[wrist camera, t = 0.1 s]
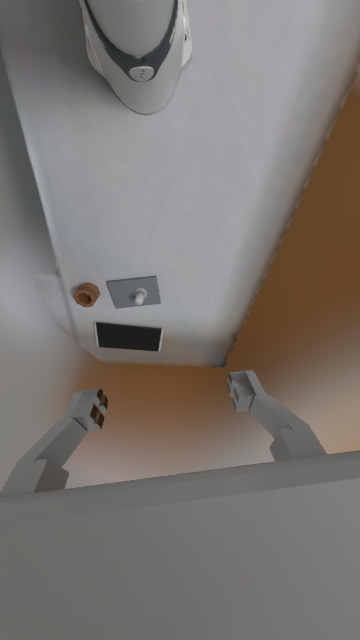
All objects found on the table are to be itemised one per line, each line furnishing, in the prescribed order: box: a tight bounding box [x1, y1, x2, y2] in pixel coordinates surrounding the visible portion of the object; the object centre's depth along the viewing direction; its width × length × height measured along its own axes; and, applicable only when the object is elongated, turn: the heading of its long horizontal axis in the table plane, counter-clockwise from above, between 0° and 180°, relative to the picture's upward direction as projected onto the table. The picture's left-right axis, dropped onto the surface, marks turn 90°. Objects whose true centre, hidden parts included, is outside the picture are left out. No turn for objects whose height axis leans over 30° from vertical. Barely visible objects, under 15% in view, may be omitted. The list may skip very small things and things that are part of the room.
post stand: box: [107, 276, 161, 308], centre depth 56 cm, size 10×16×7 cm, turn 94°
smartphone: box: [94, 321, 164, 351], centre depth 70 cm, size 13×27×2 cm, turn 80°
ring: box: [73, 283, 100, 307], centre depth 55 cm, size 6×6×5 cm
